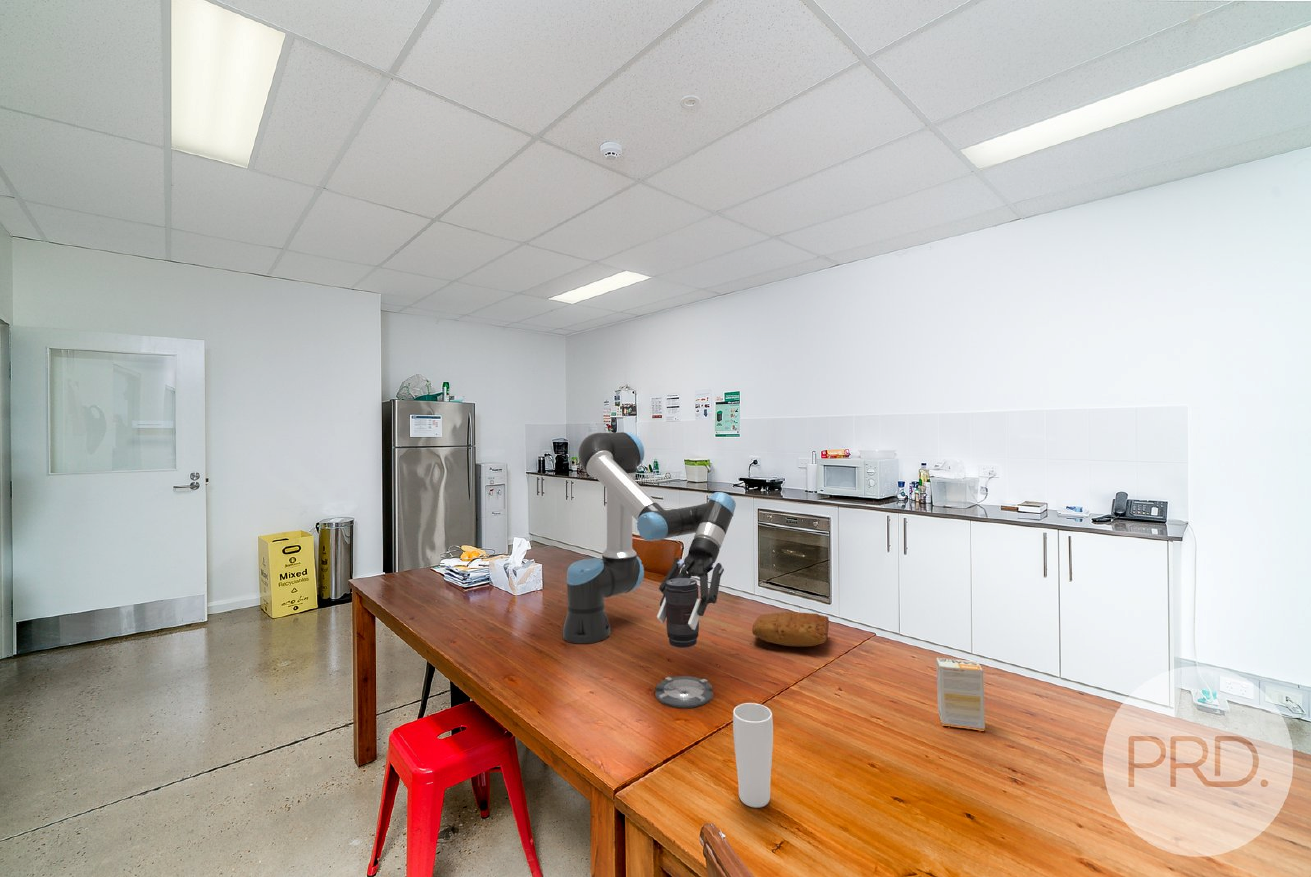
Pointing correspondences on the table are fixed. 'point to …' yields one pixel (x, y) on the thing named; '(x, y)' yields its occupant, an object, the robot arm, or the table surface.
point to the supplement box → (960, 693)
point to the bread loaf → (792, 628)
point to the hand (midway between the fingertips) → (675, 623)
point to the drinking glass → (753, 752)
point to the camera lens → (681, 611)
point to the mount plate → (684, 692)
